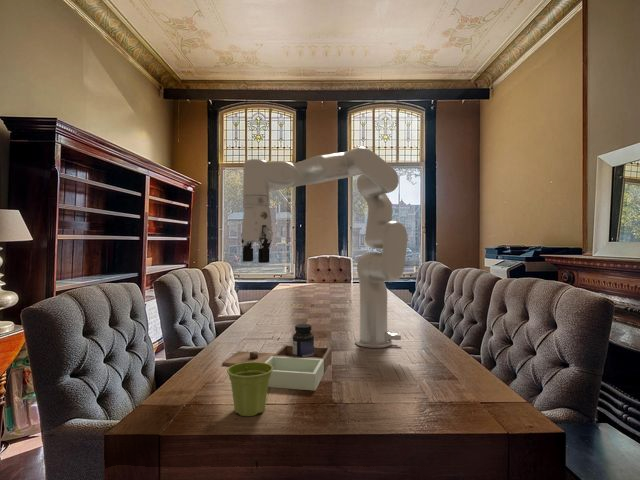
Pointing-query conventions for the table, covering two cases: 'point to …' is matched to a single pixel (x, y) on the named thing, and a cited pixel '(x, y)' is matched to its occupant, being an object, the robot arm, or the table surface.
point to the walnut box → (318, 354)
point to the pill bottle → (303, 341)
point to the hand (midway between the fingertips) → (255, 262)
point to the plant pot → (249, 386)
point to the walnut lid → (247, 358)
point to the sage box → (295, 372)
